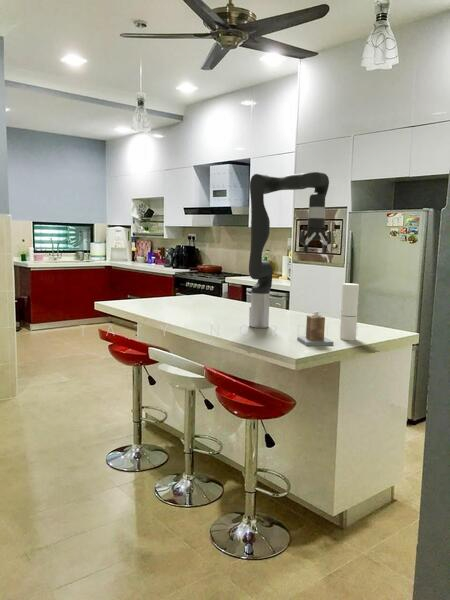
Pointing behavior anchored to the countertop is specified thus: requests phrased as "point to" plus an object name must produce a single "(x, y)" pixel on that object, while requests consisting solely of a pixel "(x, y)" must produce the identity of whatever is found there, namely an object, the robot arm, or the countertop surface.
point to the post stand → (314, 343)
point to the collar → (315, 328)
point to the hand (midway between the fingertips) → (314, 253)
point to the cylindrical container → (349, 311)
